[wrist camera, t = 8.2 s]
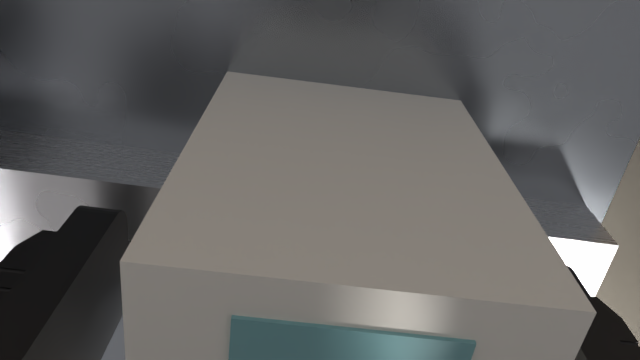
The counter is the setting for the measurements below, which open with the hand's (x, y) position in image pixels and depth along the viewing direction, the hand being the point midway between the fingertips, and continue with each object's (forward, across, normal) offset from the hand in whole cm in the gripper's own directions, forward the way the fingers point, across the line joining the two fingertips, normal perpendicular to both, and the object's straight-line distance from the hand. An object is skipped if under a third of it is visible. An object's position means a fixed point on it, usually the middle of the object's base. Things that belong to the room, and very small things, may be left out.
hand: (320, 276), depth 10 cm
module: (+2, 0, 0) cm, 2 cm away
